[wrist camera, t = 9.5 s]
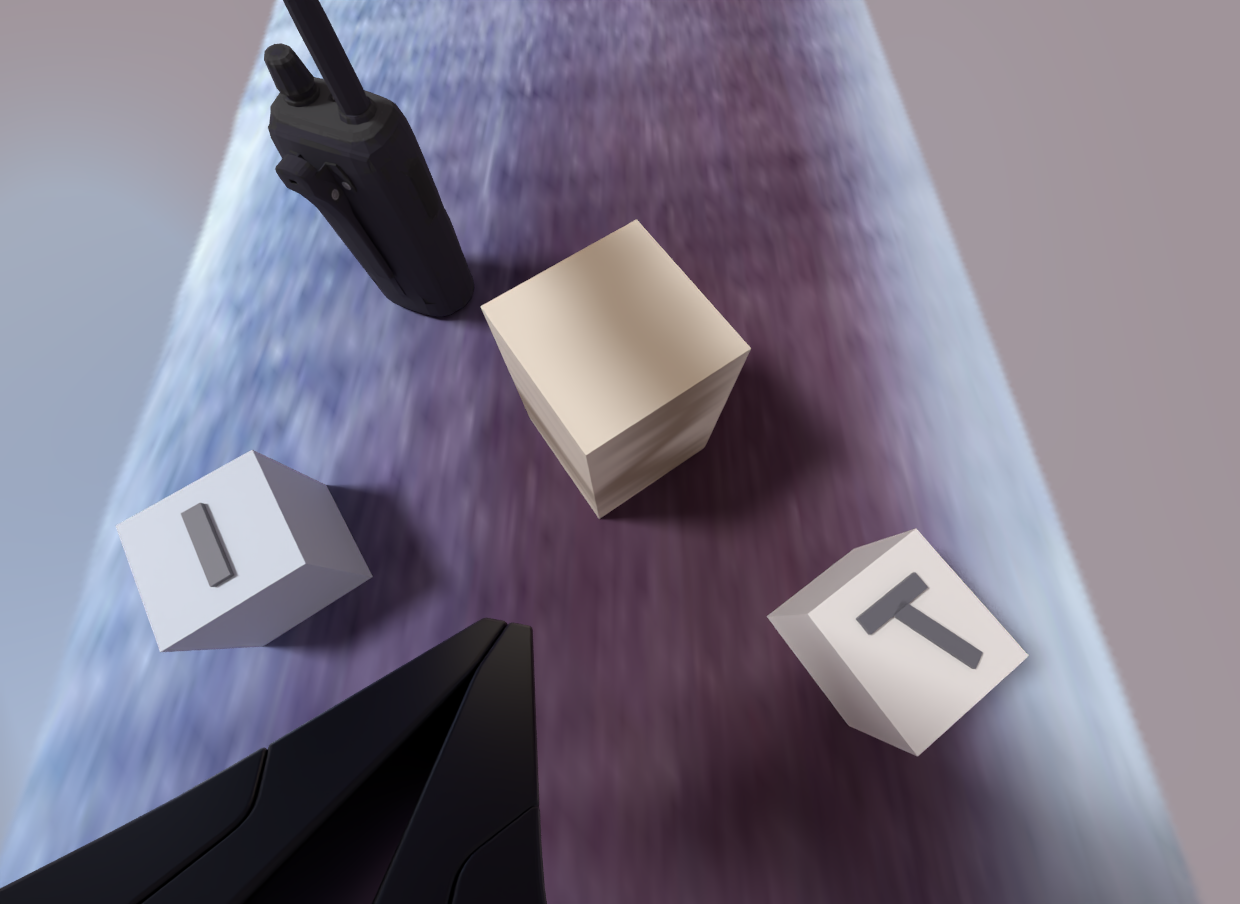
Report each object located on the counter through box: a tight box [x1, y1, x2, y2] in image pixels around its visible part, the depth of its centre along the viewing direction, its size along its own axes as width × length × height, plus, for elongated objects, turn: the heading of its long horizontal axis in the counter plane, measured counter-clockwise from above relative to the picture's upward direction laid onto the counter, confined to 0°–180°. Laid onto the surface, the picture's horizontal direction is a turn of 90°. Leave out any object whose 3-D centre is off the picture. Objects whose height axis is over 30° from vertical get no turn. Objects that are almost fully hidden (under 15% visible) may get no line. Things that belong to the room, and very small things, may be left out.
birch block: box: [480, 220, 751, 519], centre depth 20 cm, size 6×6×9 cm
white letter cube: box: [116, 450, 373, 652], centre depth 20 cm, size 5×5×5 cm
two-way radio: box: [264, 0, 474, 316], centre depth 19 cm, size 6×4×15 cm
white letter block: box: [767, 529, 1029, 757], centre depth 19 cm, size 5×5×5 cm
